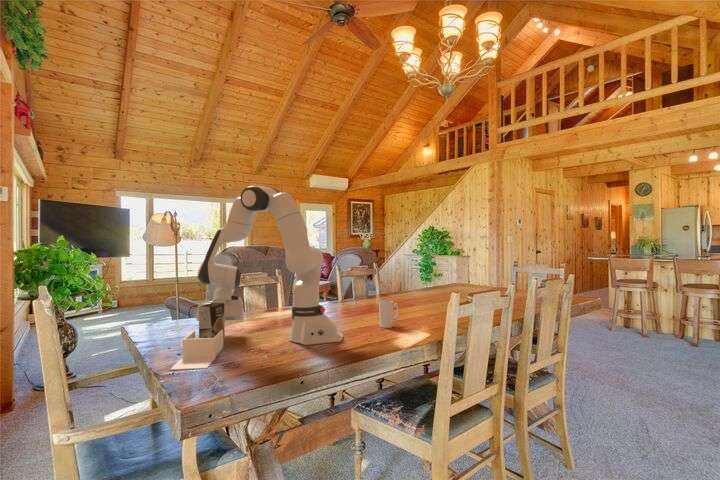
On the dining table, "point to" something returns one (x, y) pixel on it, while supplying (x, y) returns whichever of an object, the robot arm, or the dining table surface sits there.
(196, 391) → the dining table surface
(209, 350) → the box
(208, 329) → the coffee box
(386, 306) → the mug
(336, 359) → the dining table surface
